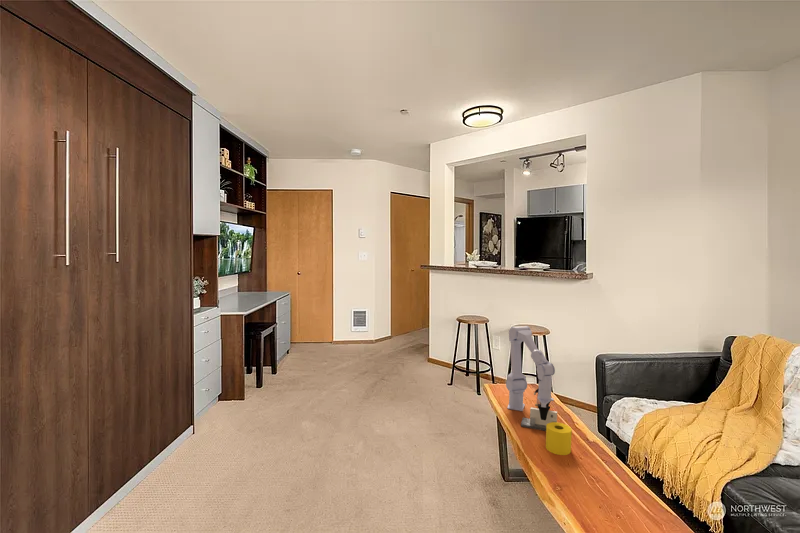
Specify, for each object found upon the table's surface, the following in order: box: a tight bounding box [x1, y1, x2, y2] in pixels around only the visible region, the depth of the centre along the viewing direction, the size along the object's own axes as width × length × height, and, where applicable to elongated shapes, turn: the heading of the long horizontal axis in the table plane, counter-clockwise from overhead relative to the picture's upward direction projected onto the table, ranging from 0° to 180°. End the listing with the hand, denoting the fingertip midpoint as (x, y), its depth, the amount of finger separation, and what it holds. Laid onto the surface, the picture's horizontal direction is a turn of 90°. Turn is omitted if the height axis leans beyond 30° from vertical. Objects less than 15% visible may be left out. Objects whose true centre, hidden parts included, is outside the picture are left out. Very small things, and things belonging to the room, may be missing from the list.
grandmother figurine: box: [533, 383, 541, 407], centre depth 216 cm, size 8×4×13 cm, turn 68°
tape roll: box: [545, 421, 573, 456], centre depth 171 cm, size 10×10×9 cm
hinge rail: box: [520, 417, 555, 432], centre depth 191 cm, size 8×20×4 cm, turn 67°
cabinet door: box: [529, 407, 558, 426], centre depth 191 cm, size 2×12×7 cm, turn 67°
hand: (543, 416), depth 191 cm, fingers open, 7 cm apart
